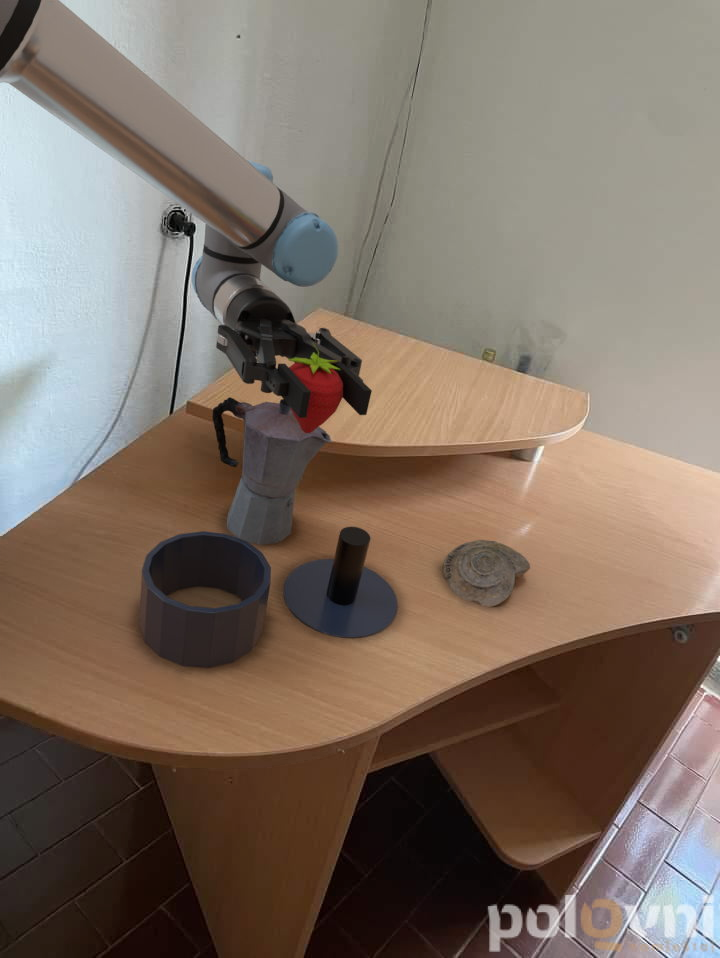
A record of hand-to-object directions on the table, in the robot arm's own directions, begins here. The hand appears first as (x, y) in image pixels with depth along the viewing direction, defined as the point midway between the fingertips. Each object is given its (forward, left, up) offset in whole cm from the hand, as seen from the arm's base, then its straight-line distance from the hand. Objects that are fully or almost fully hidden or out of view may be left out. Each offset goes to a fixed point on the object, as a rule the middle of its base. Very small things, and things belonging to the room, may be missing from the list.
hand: (335, 403), depth 67 cm
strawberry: (0, +5, -6) cm, 8 cm away
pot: (-11, +1, -28) cm, 30 cm away
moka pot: (+1, +17, -28) cm, 33 cm away
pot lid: (+6, +1, -27) cm, 28 cm away
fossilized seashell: (+27, -1, -28) cm, 39 cm away
